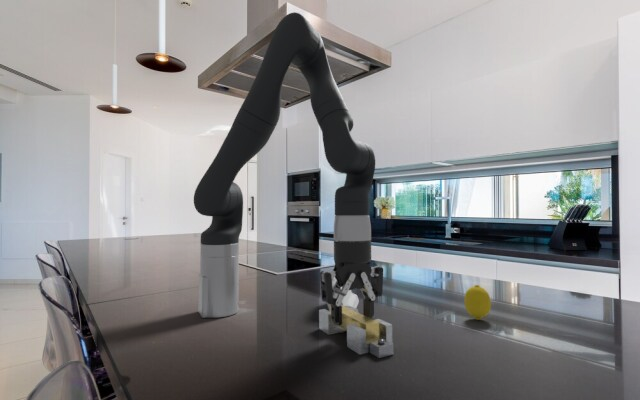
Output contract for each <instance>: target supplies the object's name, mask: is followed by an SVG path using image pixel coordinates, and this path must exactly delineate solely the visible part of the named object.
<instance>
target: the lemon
mask: <svg viewBox="0 0 640 400" xmlns="http://www.w3.org/2000/svg"><path fill="white" fill-rule="evenodd" d="M464 307H465V309H466V312H467V313H468V314H469V316H470V315H471V316H472V317H474V319H475V320H477V321H480V320H481V319H483V318H485V317H486V316H488V314H489V313H490V311H491V307H492V301H491V297H490V295H489V292H488V291H487V290H486V289H485V288H484V287H482V286H480V285H479V284H474V286H471V287H469V288H468V289H467V290H466V292H465V294H464Z"/></svg>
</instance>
